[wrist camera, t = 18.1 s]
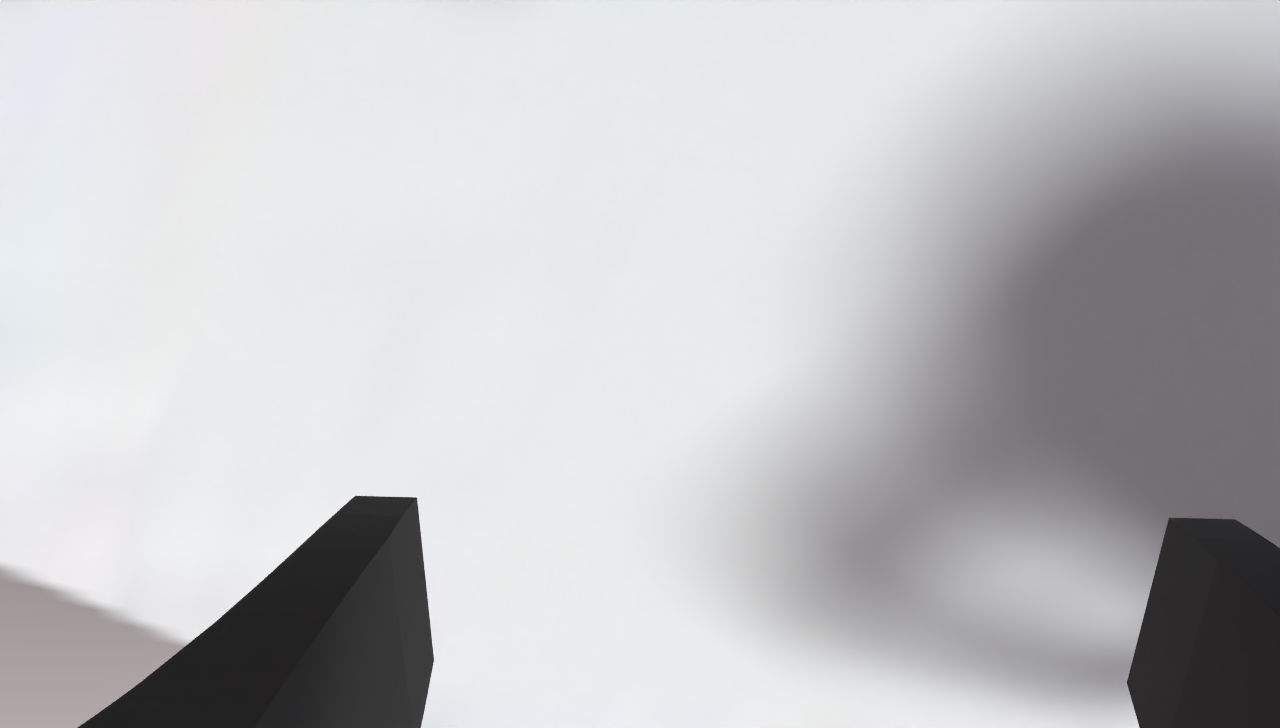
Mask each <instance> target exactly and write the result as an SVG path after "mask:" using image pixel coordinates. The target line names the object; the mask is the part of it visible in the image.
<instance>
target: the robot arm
mask: <svg viewBox="0 0 1280 728" xmlns="http://www.w3.org/2000/svg"><path fill="white" fill-rule="evenodd" d="M433 662H434V657H433V648H432V638H431V628H430V619H429V609H428V600H427V590H426V580H425V571H424V561H423V552H422V542H421V532H420V523H419V513H418V504H417V498H412V497H375V496H355V497H354V498H352V499H351V500H350V501H349V502H348V503H347V504H346V505H345V506H343V507H342V508H341V509H340V510H339V511H338V512H337V513H336V514H335V515H333V516H332V517H331V518H330V519H329V520H328V521H327V522H326V523H325V524H324V525H322V526H321V527H320V528H319V529H318V530H317V531H316V532H315V533H314V534H313V535H312V536H310V537H309V538H308V539H307V540H306V541H305V542H304V543H303V544H302V545H301V546H300V547H299V548H298V549H296V550H295V551H294V552H293V553H292V554H291V555H290V556H289V557H288V558H287V559H286V560H285V561H283V562H282V563H281V564H280V565H279V566H278V567H277V568H276V569H275V570H274V571H273V572H272V573H270V574H269V575H268V576H267V577H266V578H265V579H264V580H263V581H262V582H260V583H259V584H258V585H257V586H256V587H255V588H254V589H253V590H251V591H250V592H249V593H248V594H247V595H246V596H245V597H243V598H242V599H241V600H240V601H239V602H238V603H237V604H236V605H234V606H233V607H232V608H231V609H230V610H229V611H228V612H226V613H225V614H224V615H223V616H222V617H221V618H220V619H219V620H217V621H216V622H215V623H214V624H213V625H211V626H210V627H209V628H208V629H206V630H205V631H204V632H203V633H201V634H200V635H199V636H198V637H196V638H195V639H194V640H193V641H192V642H190V643H189V644H188V645H187V646H185V647H184V648H183V649H182V650H180V651H179V652H178V653H177V654H175V655H174V656H173V657H172V658H170V659H169V660H168V661H167V662H165V663H164V664H163V665H162V666H160V667H159V668H158V669H157V670H156V671H154V672H153V673H152V674H150V675H149V676H148V677H147V678H146V679H144V680H143V681H142V682H141V683H139V684H138V685H136V686H135V687H134V688H133V689H131V690H130V691H128V692H127V693H126V694H124V695H123V696H122V697H120V698H119V699H118V700H116V701H115V702H113V703H112V704H111V705H109V706H108V707H106V708H105V709H104V710H102V711H101V712H99V713H98V714H97V715H95V716H94V717H93V718H91V719H90V720H88V721H87V722H85V723H84V724H82V725H81V726H79V727H78V728H421V723H422V719H423V714H424V709H425V704H426V699H427V693H428V688H429V683H430V678H431V672H432V667H433ZM1127 684H1128V688H1129V691H1130V695H1131V698H1132V702H1133V705H1134V709H1135V713H1136V716H1137V720H1138V723H1139V727H1140V728H1280V548H1278V547H1277V546H1275V545H1274V544H1273V543H1271V542H1270V541H1268V540H1267V539H1265V538H1264V537H1262V536H1260V535H1259V534H1257V533H1256V532H1254V531H1253V530H1251V529H1250V528H1248V527H1246V526H1245V525H1243V524H1241V523H1240V522H1238V521H1236V520H1233V519H1196V518H1169V520H1168V524H1167V528H1166V532H1165V536H1164V540H1163V544H1162V548H1161V551H1160V555H1159V559H1158V563H1157V567H1156V571H1155V575H1154V579H1153V583H1152V587H1151V591H1150V595H1149V599H1148V602H1147V606H1146V610H1145V614H1144V618H1143V622H1142V626H1141V630H1140V634H1139V638H1138V642H1137V646H1136V650H1135V654H1134V657H1133V661H1132V665H1131V669H1130V673H1129V677H1128V681H1127Z"/></svg>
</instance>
